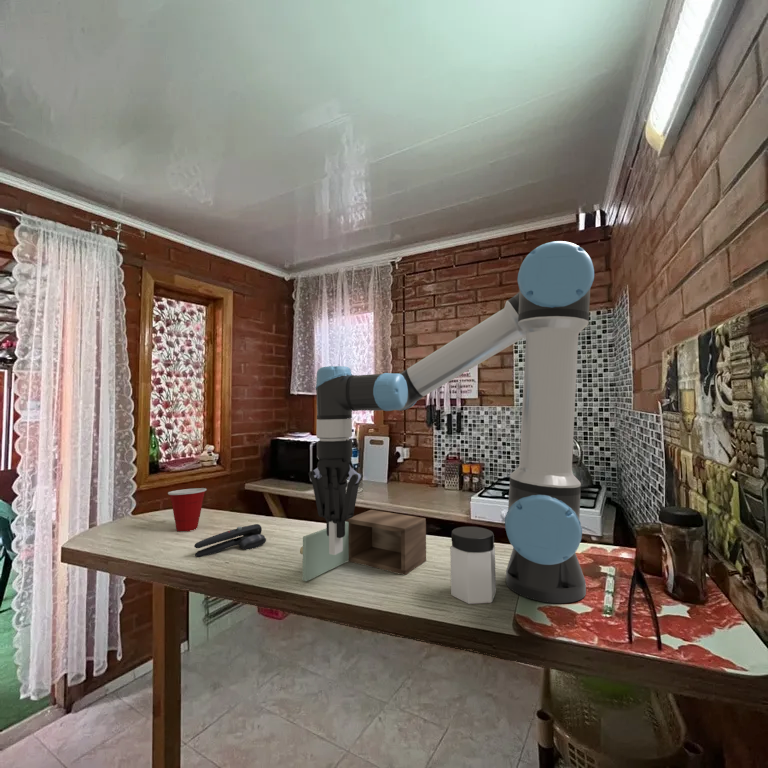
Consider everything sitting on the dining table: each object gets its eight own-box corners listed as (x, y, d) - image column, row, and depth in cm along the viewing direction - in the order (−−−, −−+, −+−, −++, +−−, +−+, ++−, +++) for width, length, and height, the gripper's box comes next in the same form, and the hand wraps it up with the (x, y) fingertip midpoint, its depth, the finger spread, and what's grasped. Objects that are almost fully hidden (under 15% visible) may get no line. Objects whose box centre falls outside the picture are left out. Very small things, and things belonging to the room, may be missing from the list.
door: (340, 558, 100) (340, 520, 100) (348, 560, 98) (348, 522, 99) (297, 578, 88) (297, 535, 89) (306, 581, 87) (306, 537, 87)
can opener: (258, 540, 116) (258, 519, 117) (268, 546, 111) (268, 525, 111) (190, 554, 106) (190, 531, 106) (197, 562, 100) (197, 538, 100)
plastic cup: (200, 522, 134) (200, 484, 135) (210, 529, 126) (211, 489, 127) (163, 528, 128) (163, 489, 128) (171, 536, 119) (172, 494, 120)
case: (426, 560, 99) (425, 518, 100) (405, 575, 91) (404, 528, 91) (371, 548, 108) (370, 509, 109) (347, 560, 100) (347, 518, 100)
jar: (458, 582, 87) (457, 523, 88) (498, 588, 84) (497, 528, 84) (446, 600, 79) (445, 536, 80) (490, 608, 76) (489, 541, 76)
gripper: (369, 438, 88) (371, 551, 87) (322, 437, 95) (323, 542, 94) (349, 441, 82) (351, 563, 81) (299, 439, 89) (300, 553, 87)
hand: (336, 552), depth 87 cm, fingers closed
